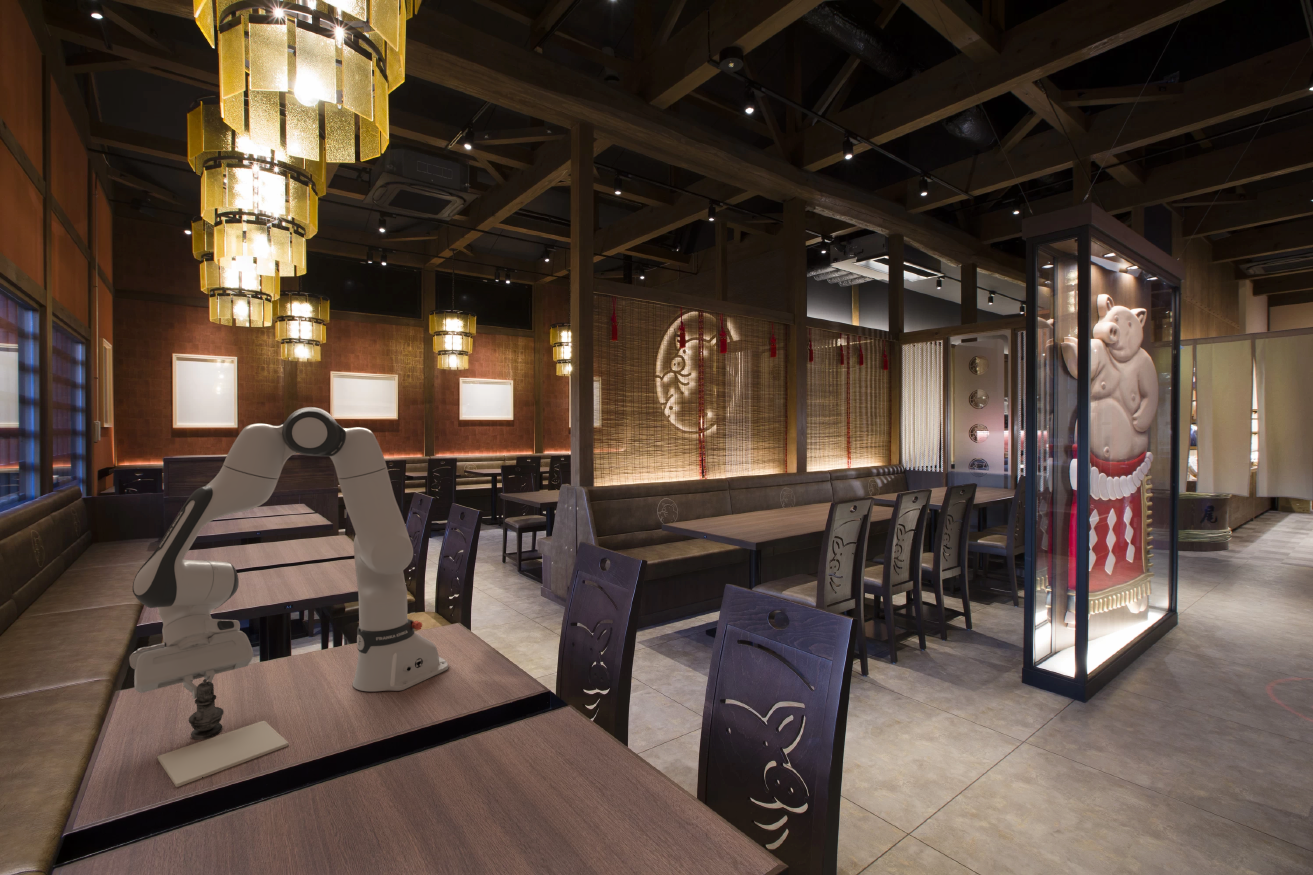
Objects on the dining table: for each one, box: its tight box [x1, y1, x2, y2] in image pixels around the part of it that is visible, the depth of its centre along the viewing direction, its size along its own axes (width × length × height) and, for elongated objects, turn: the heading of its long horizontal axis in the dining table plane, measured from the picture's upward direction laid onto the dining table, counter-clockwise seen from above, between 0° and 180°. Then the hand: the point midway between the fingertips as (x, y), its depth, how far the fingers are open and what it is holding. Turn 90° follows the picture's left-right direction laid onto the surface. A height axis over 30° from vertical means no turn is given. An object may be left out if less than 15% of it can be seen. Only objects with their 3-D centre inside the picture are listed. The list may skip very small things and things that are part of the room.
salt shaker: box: [188, 678, 225, 740], centre depth 125 cm, size 6×6×12 cm
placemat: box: [157, 720, 290, 788], centre depth 119 cm, size 18×14×1 cm
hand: (202, 695), depth 126 cm, fingers closed, pressing on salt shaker
